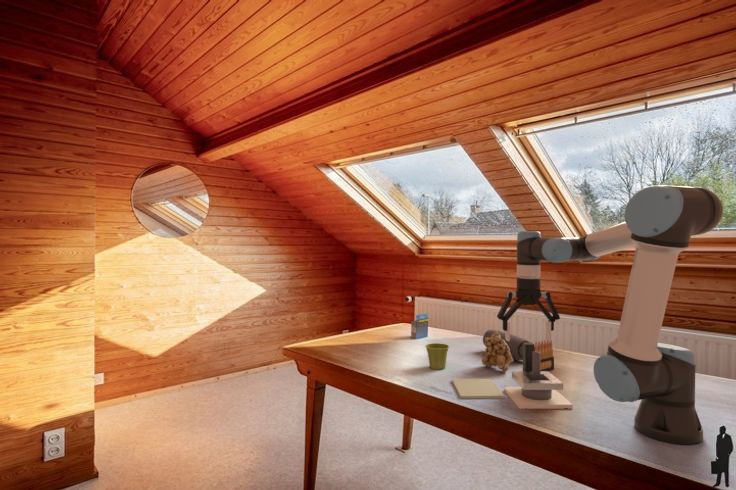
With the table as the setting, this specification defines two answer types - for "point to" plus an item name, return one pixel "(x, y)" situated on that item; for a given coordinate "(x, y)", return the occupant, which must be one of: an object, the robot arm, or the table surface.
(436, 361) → the plant pot
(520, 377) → the pink square frame
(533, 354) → the stand
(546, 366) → the ammunition clip
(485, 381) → the mat
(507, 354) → the mineral formation
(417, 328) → the label tape box
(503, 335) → the bluetooth speaker
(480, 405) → the table surface
